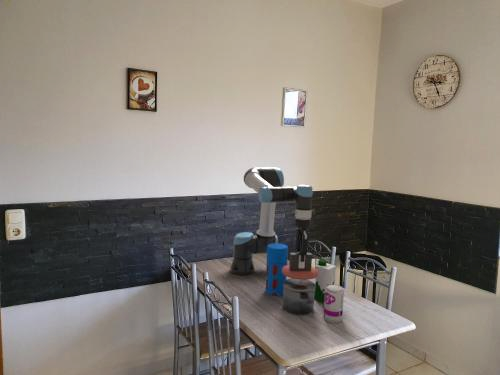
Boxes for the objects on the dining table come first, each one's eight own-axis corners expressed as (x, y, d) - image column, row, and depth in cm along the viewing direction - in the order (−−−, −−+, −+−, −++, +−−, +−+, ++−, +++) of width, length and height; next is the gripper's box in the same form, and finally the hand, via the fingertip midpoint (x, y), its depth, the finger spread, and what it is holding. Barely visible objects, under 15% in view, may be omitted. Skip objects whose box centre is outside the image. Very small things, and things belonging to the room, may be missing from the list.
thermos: (284, 297, 190) (286, 249, 187) (263, 294, 192) (265, 247, 189) (286, 289, 200) (289, 244, 197) (267, 286, 203) (269, 242, 200)
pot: (277, 299, 187) (278, 276, 185) (307, 298, 189) (308, 276, 188) (287, 318, 166) (288, 293, 165) (320, 317, 168) (322, 292, 167)
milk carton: (320, 294, 195) (322, 257, 192) (335, 299, 189) (338, 262, 186) (311, 299, 188) (313, 261, 186) (326, 304, 182) (329, 265, 180)
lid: (278, 267, 183) (279, 248, 181) (311, 266, 185) (312, 248, 184) (286, 279, 166) (287, 259, 165) (322, 279, 168) (324, 259, 167)
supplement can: (332, 325, 162) (334, 292, 160) (319, 317, 169) (321, 285, 167) (345, 320, 166) (347, 289, 164) (332, 313, 173) (334, 282, 171)
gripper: (290, 214, 180) (288, 261, 182) (299, 221, 164) (297, 272, 167) (305, 214, 181) (303, 261, 183) (316, 221, 165) (313, 272, 168)
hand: (300, 266), depth 175 cm, fingers closed on lid, 3 cm apart
